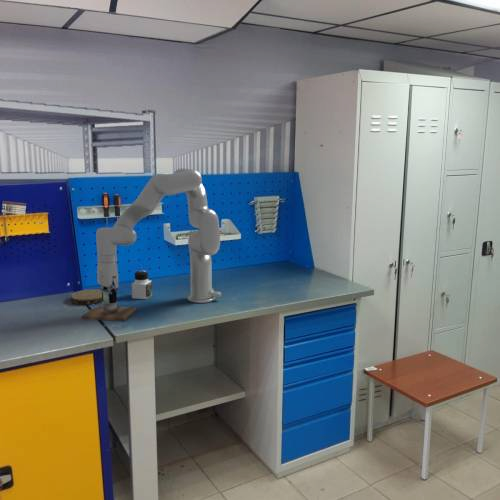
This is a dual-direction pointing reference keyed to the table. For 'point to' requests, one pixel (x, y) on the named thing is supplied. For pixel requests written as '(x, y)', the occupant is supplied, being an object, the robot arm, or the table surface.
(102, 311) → the stud board
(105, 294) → the cap
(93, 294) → the wood slice
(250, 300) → the table surface
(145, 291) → the medicine bottle
